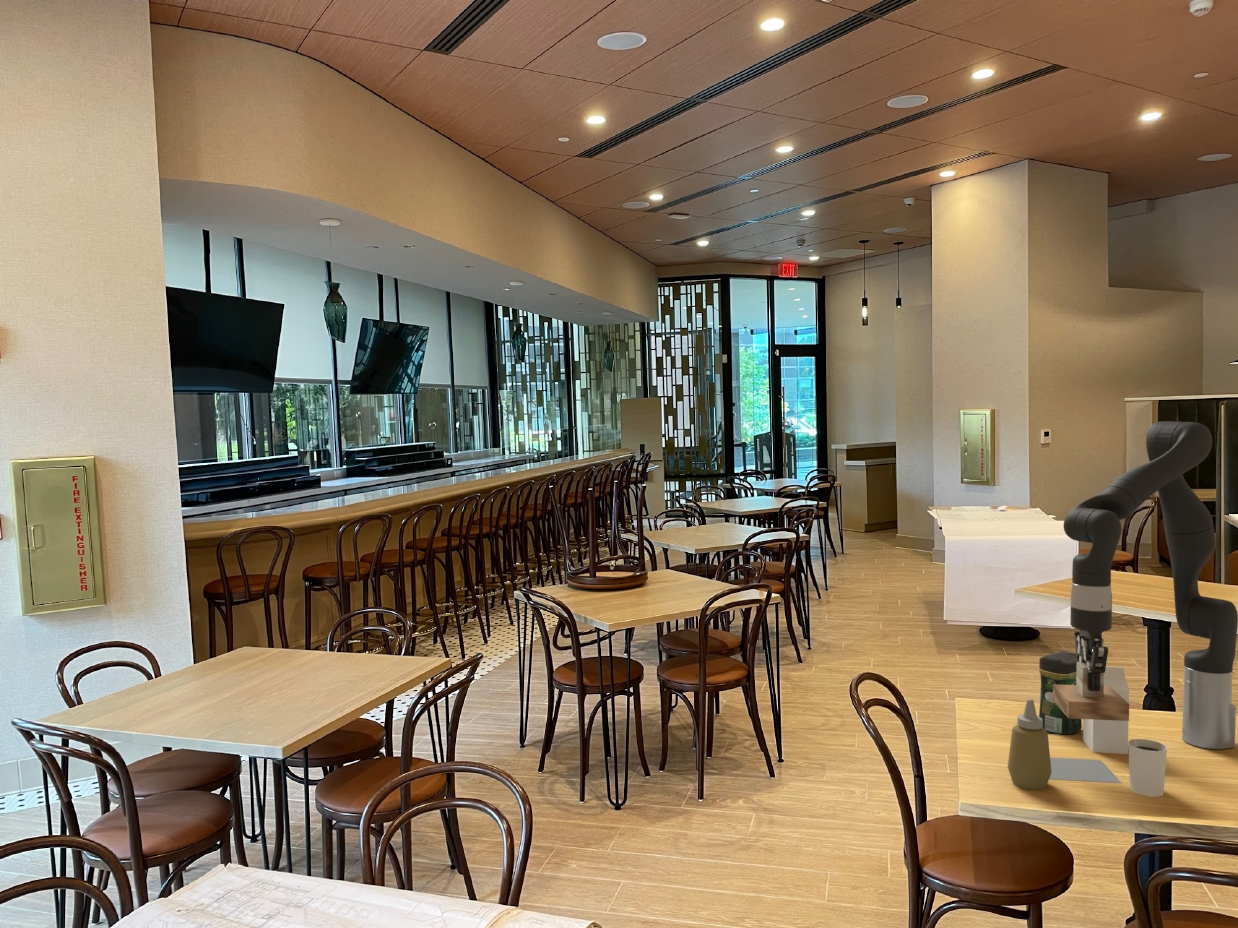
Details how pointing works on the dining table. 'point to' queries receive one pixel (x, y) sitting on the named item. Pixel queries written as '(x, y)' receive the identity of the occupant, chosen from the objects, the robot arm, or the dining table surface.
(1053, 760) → the rubber mat
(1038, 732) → the squeeze bottle
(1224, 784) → the dining table surface
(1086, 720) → the milk carton
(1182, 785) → the dining table surface
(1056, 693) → the tan plate with knob
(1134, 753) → the white cup
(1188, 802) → the dining table surface
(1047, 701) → the coffee jar
